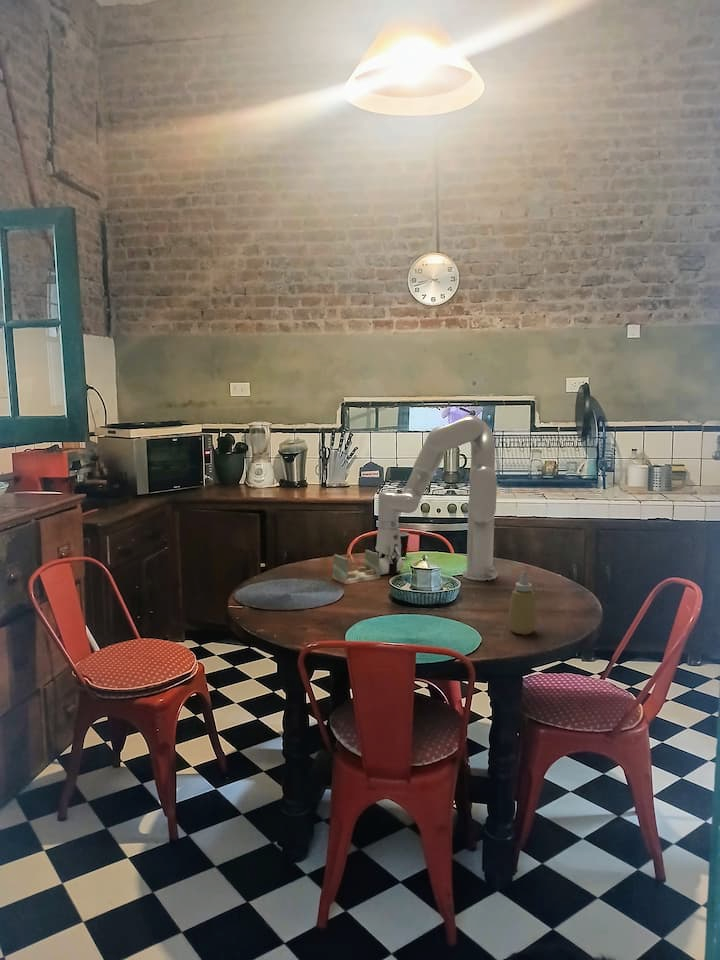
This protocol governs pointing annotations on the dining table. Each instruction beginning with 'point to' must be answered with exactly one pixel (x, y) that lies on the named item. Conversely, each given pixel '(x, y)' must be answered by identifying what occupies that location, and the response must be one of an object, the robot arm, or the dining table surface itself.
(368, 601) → the dining table surface
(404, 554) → the coffee mug
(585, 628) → the dining table surface
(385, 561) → the paper roll
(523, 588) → the squeeze bottle
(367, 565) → the roll holder
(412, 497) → the robot arm
